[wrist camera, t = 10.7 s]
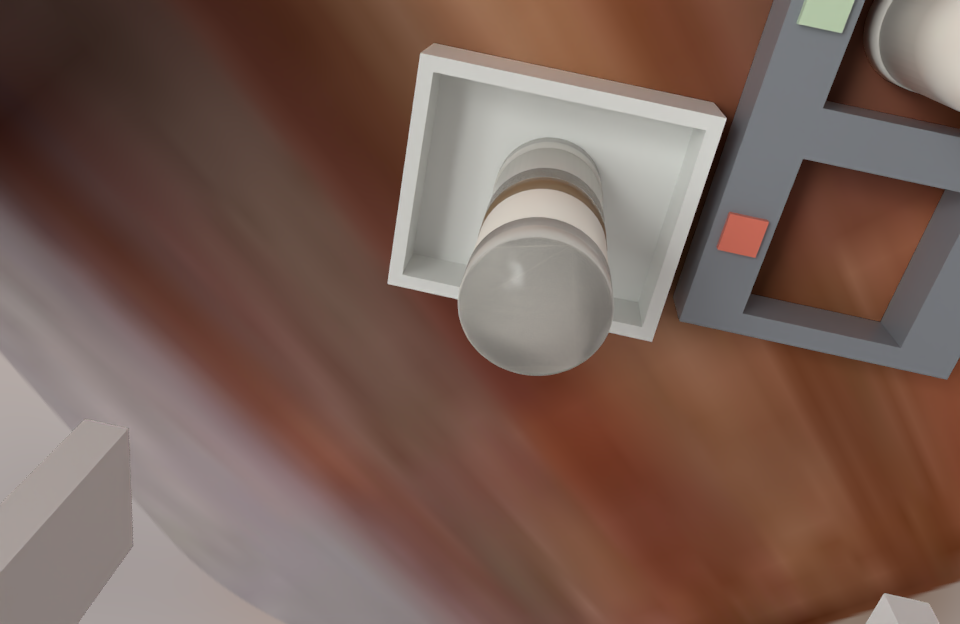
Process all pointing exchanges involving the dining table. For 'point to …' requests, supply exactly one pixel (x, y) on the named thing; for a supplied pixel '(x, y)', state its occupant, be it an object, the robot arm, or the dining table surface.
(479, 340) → the fuse
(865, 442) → the dining table surface
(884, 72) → the fuse
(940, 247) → the fuse panel
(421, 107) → the parts tray
